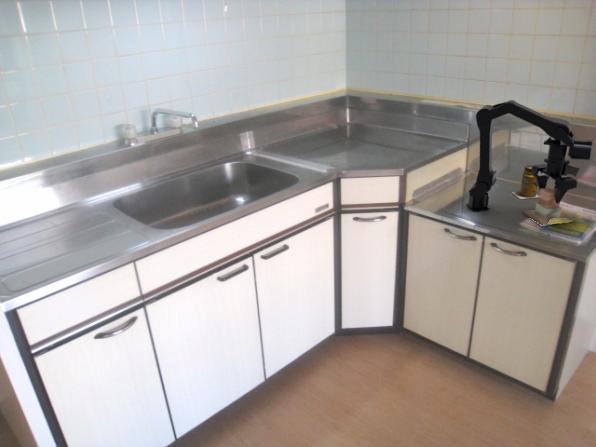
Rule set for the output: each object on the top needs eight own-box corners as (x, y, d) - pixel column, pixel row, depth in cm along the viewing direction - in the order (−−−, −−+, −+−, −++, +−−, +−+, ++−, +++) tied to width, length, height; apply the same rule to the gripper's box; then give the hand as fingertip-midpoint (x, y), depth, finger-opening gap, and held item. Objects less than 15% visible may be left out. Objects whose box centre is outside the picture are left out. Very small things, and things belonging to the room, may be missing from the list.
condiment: (540, 197, 202) (544, 169, 197) (520, 199, 201) (524, 171, 196) (530, 190, 208) (534, 163, 203) (511, 193, 208) (514, 165, 203)
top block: (546, 209, 180) (548, 193, 177) (538, 203, 184) (540, 188, 182) (559, 207, 180) (561, 191, 178) (550, 202, 185) (553, 187, 182)
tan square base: (541, 226, 178) (543, 214, 176) (522, 213, 189) (524, 201, 187) (572, 222, 180) (574, 209, 178) (551, 209, 190) (553, 197, 188)
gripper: (596, 162, 167) (587, 205, 174) (561, 147, 184) (554, 187, 190) (565, 166, 166) (557, 209, 172) (532, 150, 183) (527, 190, 189)
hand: (549, 198), depth 181 cm, fingers open, 9 cm apart
